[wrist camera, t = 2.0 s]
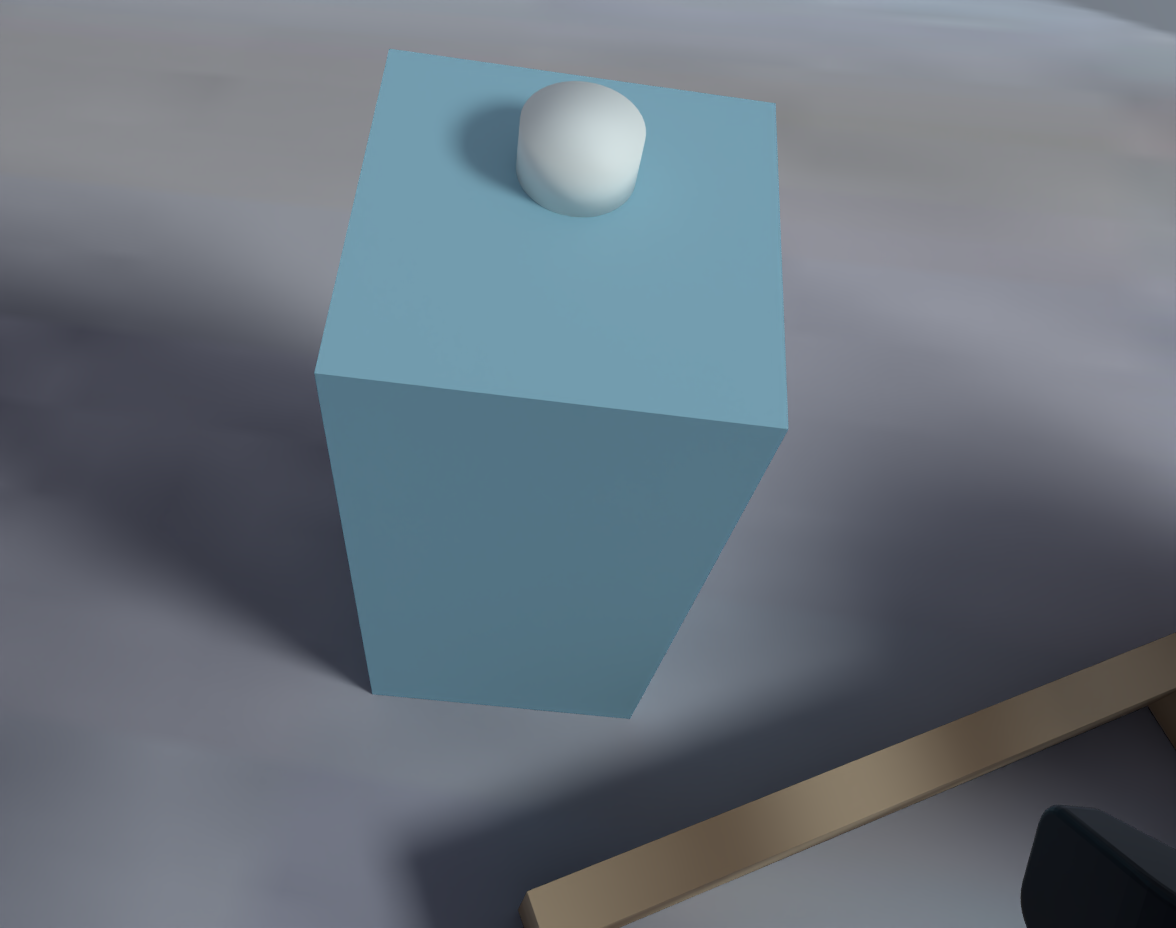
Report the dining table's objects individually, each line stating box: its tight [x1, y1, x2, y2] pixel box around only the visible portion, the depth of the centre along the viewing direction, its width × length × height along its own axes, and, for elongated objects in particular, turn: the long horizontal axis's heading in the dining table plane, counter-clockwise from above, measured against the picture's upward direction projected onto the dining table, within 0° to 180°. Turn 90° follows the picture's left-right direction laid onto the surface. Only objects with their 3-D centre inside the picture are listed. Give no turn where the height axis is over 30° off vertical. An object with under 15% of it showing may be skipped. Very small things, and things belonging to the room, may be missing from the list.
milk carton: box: [314, 49, 788, 719], centre depth 18 cm, size 6×6×13 cm
